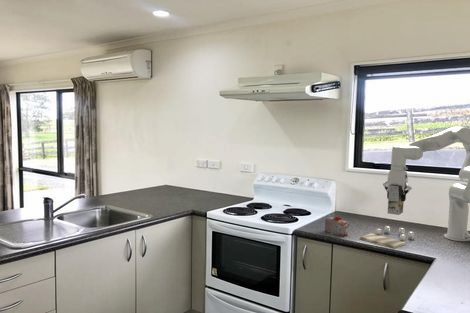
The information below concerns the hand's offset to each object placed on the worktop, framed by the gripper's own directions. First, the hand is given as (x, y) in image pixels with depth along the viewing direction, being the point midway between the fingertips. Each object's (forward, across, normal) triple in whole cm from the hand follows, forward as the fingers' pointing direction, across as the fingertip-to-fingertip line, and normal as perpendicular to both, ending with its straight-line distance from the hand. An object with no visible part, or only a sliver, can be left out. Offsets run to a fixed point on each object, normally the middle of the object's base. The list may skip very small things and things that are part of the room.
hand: (396, 199), depth 217 cm
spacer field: (+22, 0, -3) cm, 22 cm away
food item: (+22, +24, +20) cm, 38 cm away
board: (+22, 0, +12) cm, 25 cm away
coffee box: (+8, 0, 0) cm, 8 cm away
